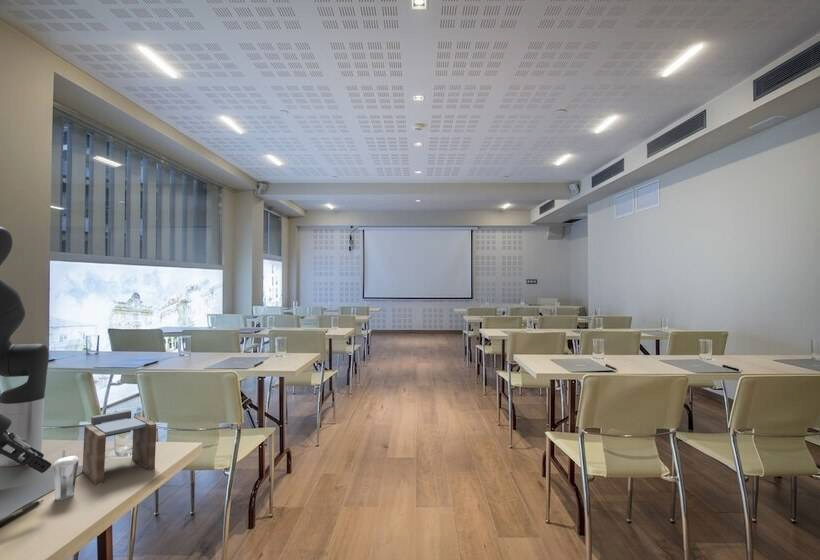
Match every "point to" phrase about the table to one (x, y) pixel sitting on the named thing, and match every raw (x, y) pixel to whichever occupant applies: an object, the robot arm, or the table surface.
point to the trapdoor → (116, 423)
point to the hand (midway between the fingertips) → (43, 463)
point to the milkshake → (65, 476)
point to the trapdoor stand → (97, 440)
